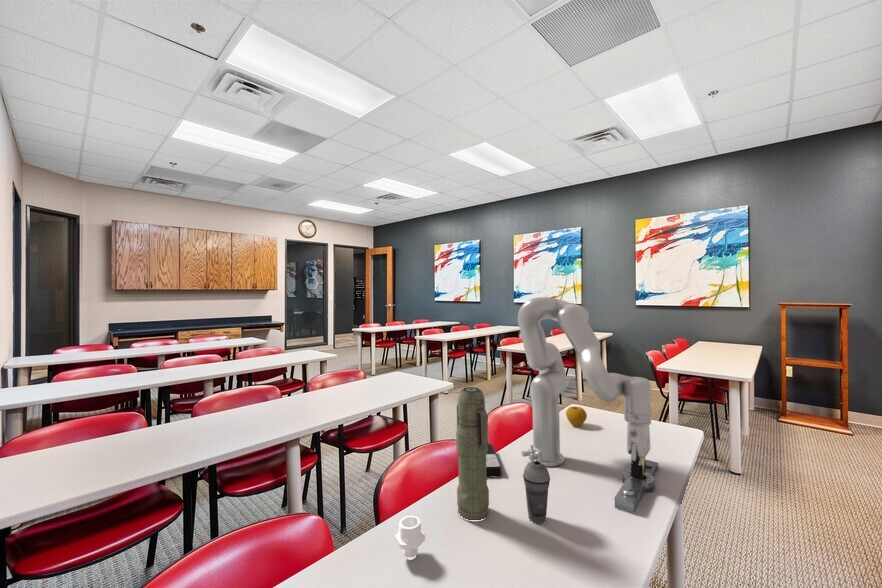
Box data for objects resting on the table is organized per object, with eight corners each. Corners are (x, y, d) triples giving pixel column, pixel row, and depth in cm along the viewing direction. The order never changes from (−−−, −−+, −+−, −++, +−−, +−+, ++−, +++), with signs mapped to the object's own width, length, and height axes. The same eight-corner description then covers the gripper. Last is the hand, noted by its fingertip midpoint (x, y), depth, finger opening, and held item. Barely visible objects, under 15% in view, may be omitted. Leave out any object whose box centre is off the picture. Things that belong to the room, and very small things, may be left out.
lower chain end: (651, 496, 110) (651, 488, 110) (620, 486, 115) (620, 479, 115) (664, 468, 126) (664, 462, 126) (636, 461, 132) (636, 455, 132)
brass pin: (639, 484, 114) (638, 455, 114) (630, 479, 117) (630, 451, 117) (646, 482, 115) (646, 453, 115) (638, 477, 118) (637, 449, 118)
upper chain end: (641, 517, 100) (641, 503, 100) (607, 505, 105) (607, 492, 105) (656, 484, 116) (656, 472, 116) (627, 475, 122) (627, 464, 122)
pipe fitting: (390, 560, 85) (389, 526, 85) (408, 542, 91) (408, 510, 91) (412, 570, 82) (411, 535, 82) (430, 551, 88) (429, 518, 88)
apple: (585, 423, 171) (585, 403, 171) (588, 430, 162) (588, 410, 162) (565, 421, 173) (565, 402, 173) (567, 428, 164) (567, 408, 164)
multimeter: (492, 452, 142) (492, 440, 142) (501, 478, 123) (501, 463, 123) (458, 453, 142) (458, 440, 142) (462, 479, 123) (462, 464, 123)
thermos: (478, 529, 96) (476, 396, 96) (447, 509, 105) (445, 388, 104) (499, 515, 102) (497, 390, 101) (469, 497, 110) (467, 382, 110)
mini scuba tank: (546, 531, 95) (545, 454, 95) (519, 522, 99) (518, 448, 98) (554, 516, 101) (553, 444, 101) (528, 508, 105) (527, 438, 105)
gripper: (645, 427, 107) (645, 489, 107) (656, 412, 120) (656, 468, 120) (617, 421, 112) (618, 481, 112) (631, 408, 125) (631, 461, 125)
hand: (638, 473), depth 116 cm, fingers closed on brass pin, 3 cm apart
